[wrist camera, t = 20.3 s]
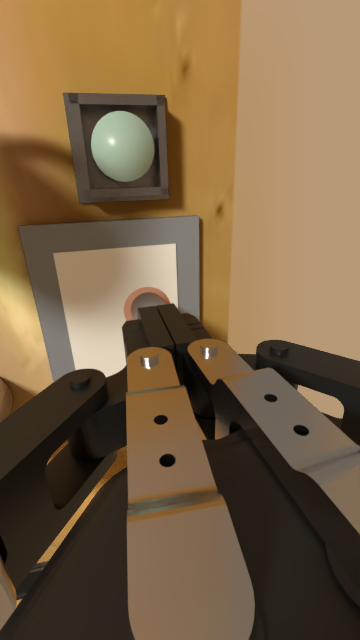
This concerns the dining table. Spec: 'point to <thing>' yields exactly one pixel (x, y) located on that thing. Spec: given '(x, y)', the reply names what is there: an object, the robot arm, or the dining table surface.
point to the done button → (122, 146)
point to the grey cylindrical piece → (145, 302)
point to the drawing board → (106, 282)
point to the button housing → (81, 123)
